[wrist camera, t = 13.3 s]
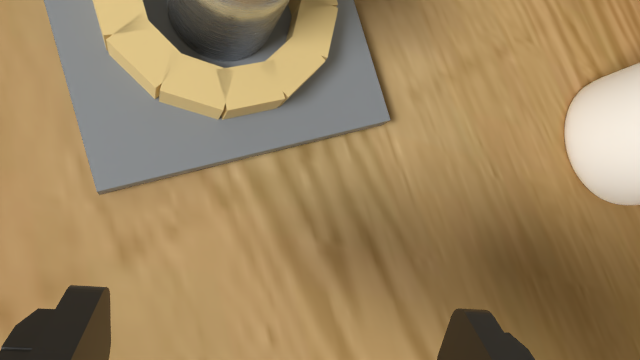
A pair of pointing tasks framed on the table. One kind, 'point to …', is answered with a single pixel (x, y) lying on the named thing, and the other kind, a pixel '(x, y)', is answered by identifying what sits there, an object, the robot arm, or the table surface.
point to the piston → (225, 25)
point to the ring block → (208, 87)
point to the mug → (607, 136)
